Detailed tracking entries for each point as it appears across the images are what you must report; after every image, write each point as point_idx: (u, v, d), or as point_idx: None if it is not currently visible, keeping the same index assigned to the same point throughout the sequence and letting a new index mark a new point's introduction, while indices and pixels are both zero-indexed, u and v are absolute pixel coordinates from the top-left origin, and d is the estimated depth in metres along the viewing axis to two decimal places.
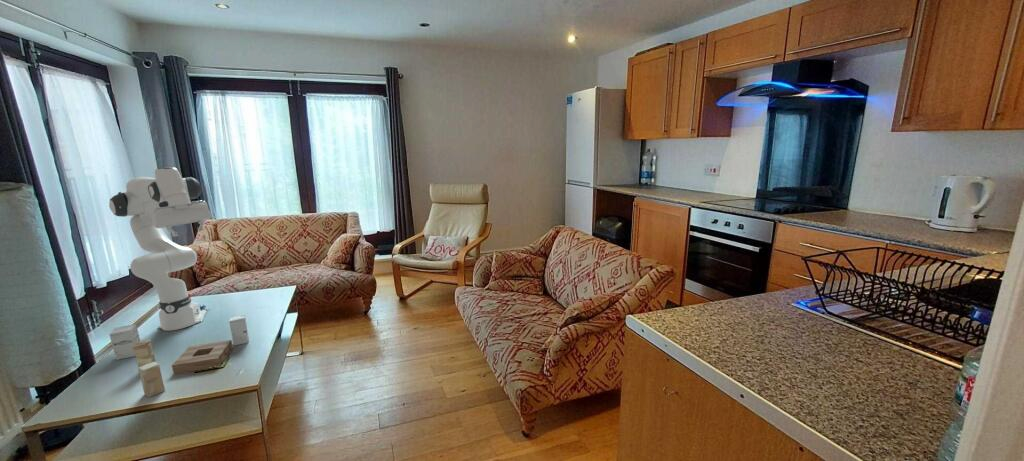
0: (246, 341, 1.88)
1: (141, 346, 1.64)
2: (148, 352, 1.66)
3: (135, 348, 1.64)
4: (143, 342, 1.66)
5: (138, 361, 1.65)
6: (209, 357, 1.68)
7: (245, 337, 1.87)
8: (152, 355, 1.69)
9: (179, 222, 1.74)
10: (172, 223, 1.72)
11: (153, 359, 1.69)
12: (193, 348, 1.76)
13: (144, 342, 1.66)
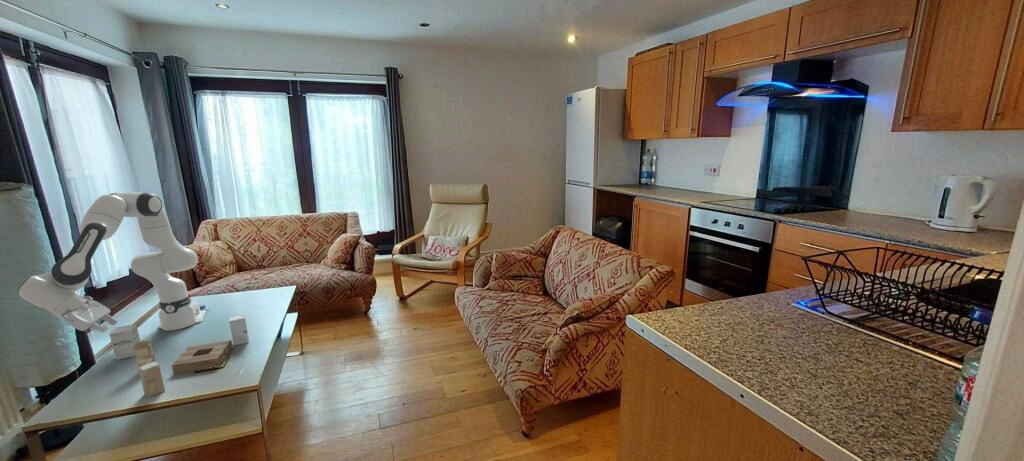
0: (246, 341, 1.88)
1: (141, 346, 1.64)
2: (148, 352, 1.66)
3: (135, 348, 1.64)
4: (143, 342, 1.66)
5: (138, 361, 1.65)
6: (209, 357, 1.68)
7: (245, 337, 1.87)
8: (152, 355, 1.69)
9: None
10: None
11: (153, 359, 1.69)
12: (193, 348, 1.76)
13: (144, 342, 1.66)
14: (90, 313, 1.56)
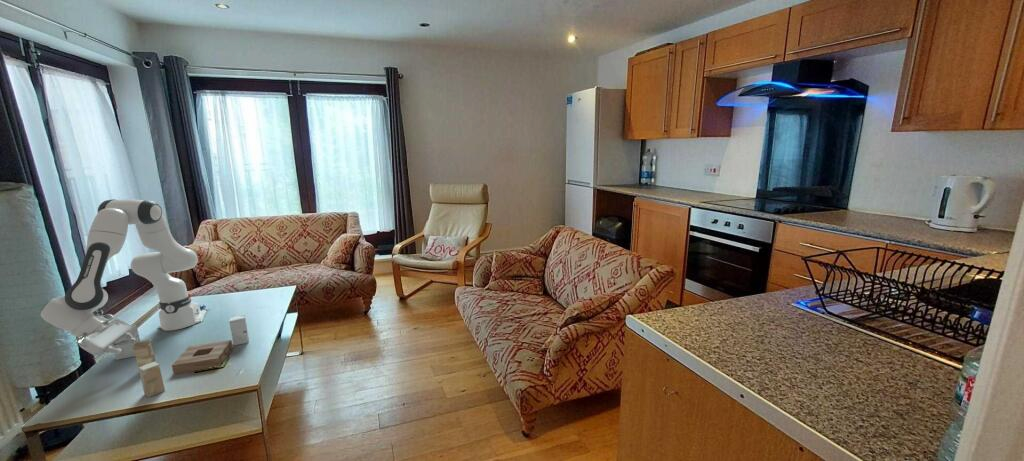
0: (246, 341, 1.88)
1: (141, 346, 1.64)
2: (148, 352, 1.66)
3: (135, 348, 1.64)
4: (143, 342, 1.66)
5: (138, 361, 1.65)
6: (209, 357, 1.68)
7: (245, 337, 1.87)
8: (152, 355, 1.69)
9: None
10: None
11: (153, 359, 1.69)
12: (193, 348, 1.76)
13: (144, 342, 1.66)
14: (106, 335, 1.60)
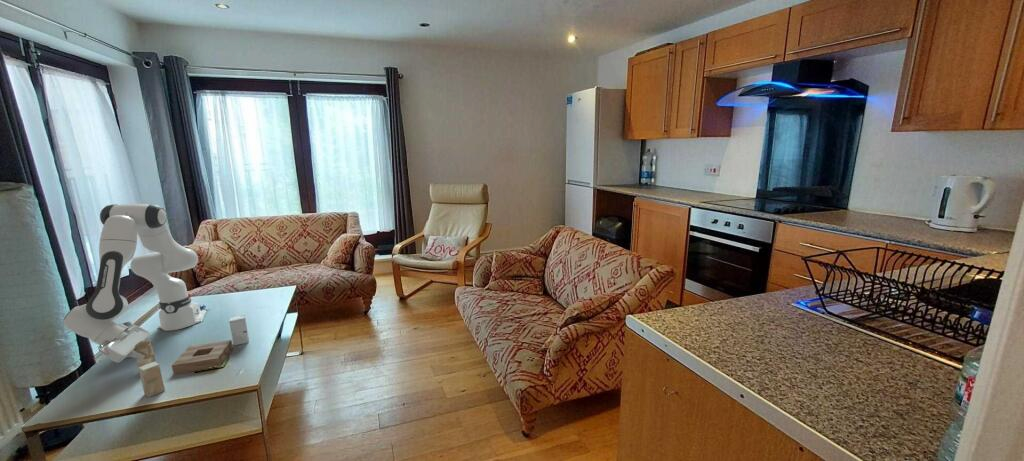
0: (246, 341, 1.88)
1: (141, 346, 1.64)
2: (148, 352, 1.66)
3: (135, 348, 1.64)
4: (143, 342, 1.66)
5: (138, 361, 1.65)
6: (209, 357, 1.68)
7: (245, 337, 1.87)
8: (152, 355, 1.69)
9: None
10: None
11: (153, 359, 1.69)
12: (193, 348, 1.76)
13: (144, 342, 1.66)
14: (127, 342, 1.63)
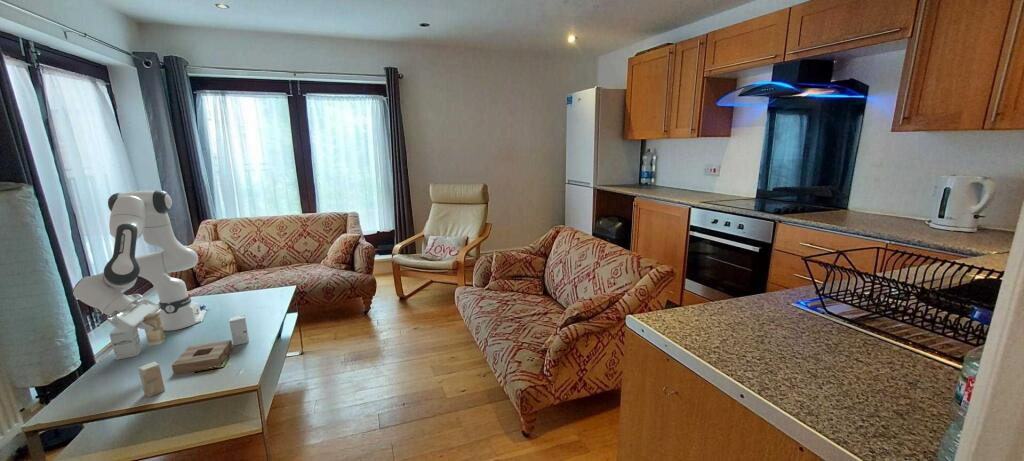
0: (246, 341, 1.88)
1: (150, 318, 1.63)
2: (157, 324, 1.65)
3: (144, 320, 1.62)
4: (152, 314, 1.65)
5: (147, 333, 1.64)
6: (209, 357, 1.68)
7: (245, 337, 1.87)
8: (161, 328, 1.67)
9: None
10: None
11: (162, 331, 1.68)
12: (193, 348, 1.76)
13: (153, 314, 1.65)
14: (136, 313, 1.61)
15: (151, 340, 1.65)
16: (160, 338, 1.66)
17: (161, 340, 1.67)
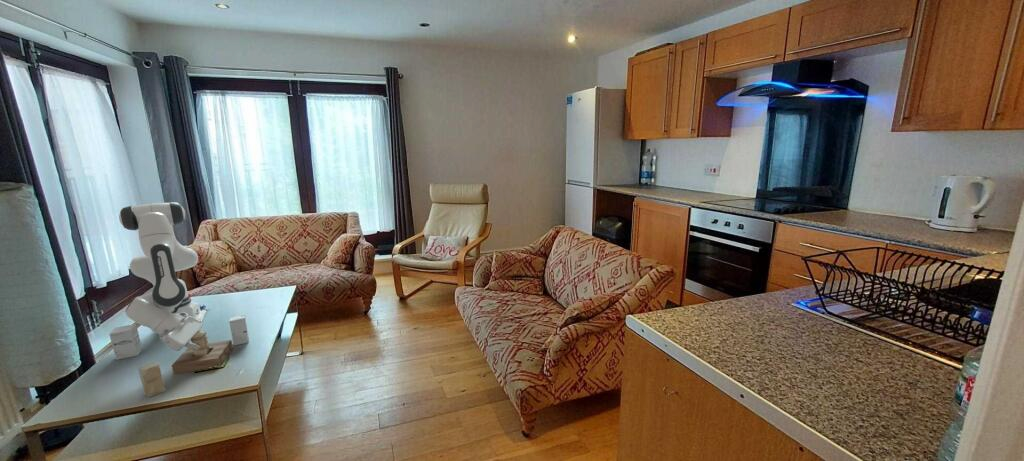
0: (246, 341, 1.88)
1: (198, 338, 1.70)
2: (204, 343, 1.72)
3: (192, 339, 1.69)
4: (199, 334, 1.72)
5: (195, 352, 1.70)
6: (209, 357, 1.68)
7: (245, 337, 1.87)
8: (207, 347, 1.74)
9: None
10: None
11: (208, 350, 1.75)
12: None
13: (200, 334, 1.72)
14: (184, 332, 1.68)
15: None
16: None
17: None
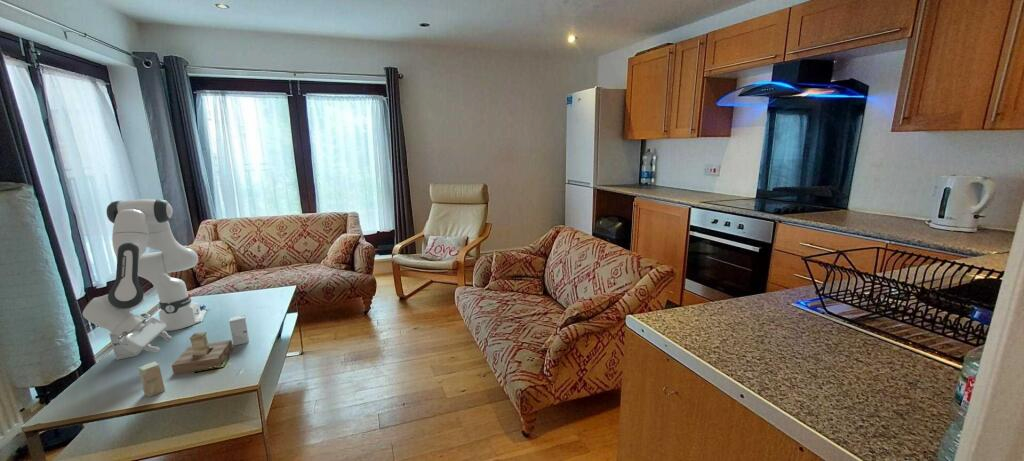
0: (246, 341, 1.88)
1: (198, 338, 1.70)
2: (204, 344, 1.72)
3: (192, 340, 1.69)
4: (199, 334, 1.72)
5: (195, 352, 1.70)
6: (209, 357, 1.68)
7: (245, 337, 1.87)
8: (207, 347, 1.74)
9: None
10: None
11: (208, 350, 1.75)
12: None
13: (200, 334, 1.72)
14: (145, 333, 1.64)
15: None
16: None
17: None
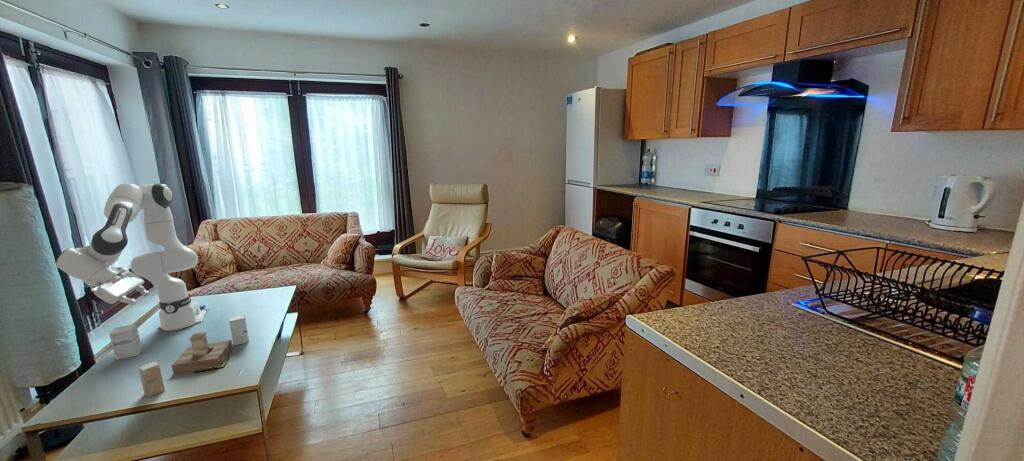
0: (246, 341, 1.88)
1: (198, 338, 1.70)
2: (204, 344, 1.72)
3: (192, 339, 1.69)
4: (199, 334, 1.72)
5: (195, 352, 1.70)
6: (209, 357, 1.68)
7: (245, 337, 1.87)
8: (207, 347, 1.74)
9: None
10: None
11: (208, 350, 1.75)
12: None
13: (200, 334, 1.72)
14: (120, 285, 1.61)
15: None
16: None
17: None
